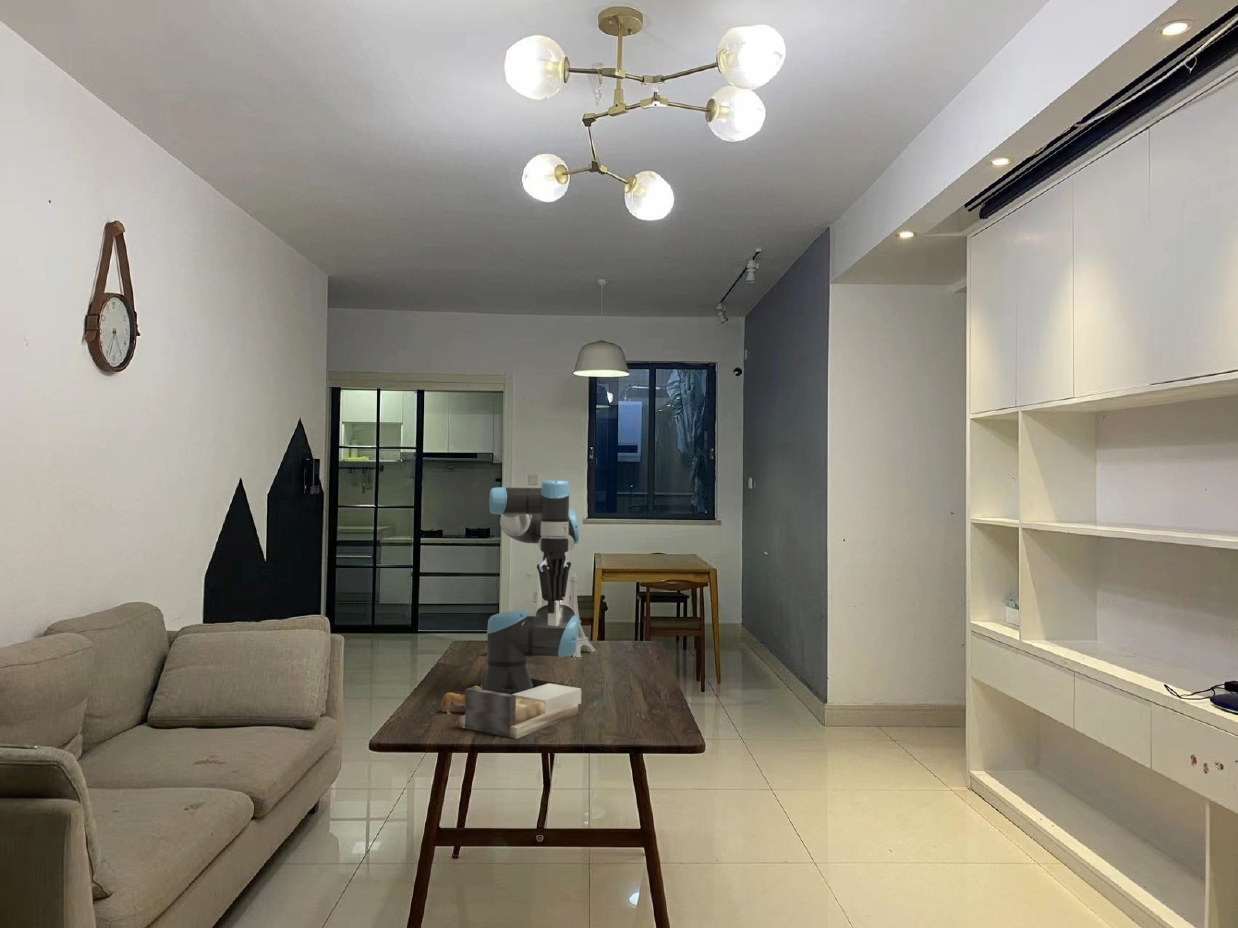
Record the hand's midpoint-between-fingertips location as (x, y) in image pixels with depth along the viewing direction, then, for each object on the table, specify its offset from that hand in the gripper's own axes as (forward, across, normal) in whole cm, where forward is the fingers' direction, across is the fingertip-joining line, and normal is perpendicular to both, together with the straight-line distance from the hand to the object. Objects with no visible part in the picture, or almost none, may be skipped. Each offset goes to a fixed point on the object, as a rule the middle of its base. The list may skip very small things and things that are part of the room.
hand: (553, 625), depth 227 cm
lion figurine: (+23, -18, +18) cm, 34 cm away
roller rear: (+20, -14, +1) cm, 24 cm away
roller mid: (+17, -17, 0) cm, 24 cm away
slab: (+21, -2, 0) cm, 21 cm away
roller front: (+18, -20, 0) cm, 27 cm away
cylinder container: (+23, +68, +50) cm, 88 cm away
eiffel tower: (+23, +66, +39) cm, 80 cm away
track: (+22, -14, 0) cm, 26 cm away
